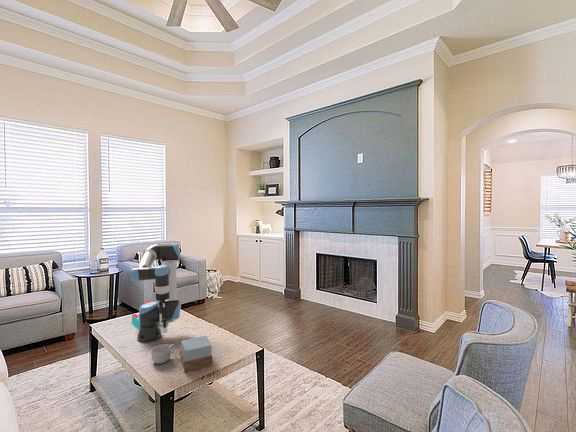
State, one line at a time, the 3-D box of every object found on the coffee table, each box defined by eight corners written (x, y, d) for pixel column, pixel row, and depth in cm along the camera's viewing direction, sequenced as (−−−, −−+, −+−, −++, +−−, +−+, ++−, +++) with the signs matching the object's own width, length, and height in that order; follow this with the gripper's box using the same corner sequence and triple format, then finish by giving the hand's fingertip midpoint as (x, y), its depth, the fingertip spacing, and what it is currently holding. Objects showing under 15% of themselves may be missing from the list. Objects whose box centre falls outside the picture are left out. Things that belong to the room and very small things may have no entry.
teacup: (153, 368, 169) (153, 354, 169) (149, 360, 178) (149, 346, 177) (179, 360, 177) (178, 347, 177) (173, 353, 186) (173, 340, 186)
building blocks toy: (173, 320, 238) (172, 298, 237) (139, 330, 221) (139, 305, 220) (164, 314, 252) (163, 292, 251) (132, 323, 235) (131, 299, 234)
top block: (181, 350, 177) (181, 340, 177) (205, 345, 183) (205, 335, 183) (185, 361, 164) (185, 351, 164) (211, 355, 171) (211, 345, 171)
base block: (180, 360, 177) (180, 350, 177) (206, 354, 184) (206, 344, 184) (184, 373, 164) (184, 362, 164) (212, 366, 171) (212, 355, 171)
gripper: (153, 288, 185) (154, 322, 186) (157, 299, 163) (158, 337, 164) (166, 286, 189) (167, 320, 190) (171, 297, 167) (172, 334, 168)
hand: (163, 328), depth 177 cm, fingers open, 13 cm apart
